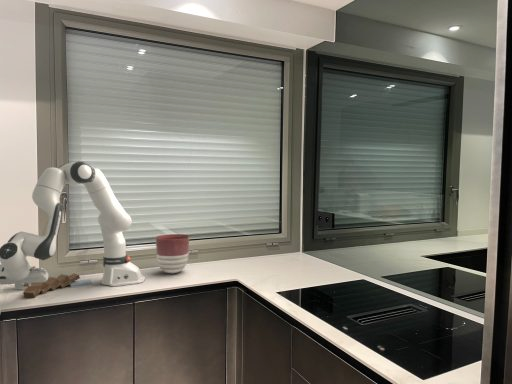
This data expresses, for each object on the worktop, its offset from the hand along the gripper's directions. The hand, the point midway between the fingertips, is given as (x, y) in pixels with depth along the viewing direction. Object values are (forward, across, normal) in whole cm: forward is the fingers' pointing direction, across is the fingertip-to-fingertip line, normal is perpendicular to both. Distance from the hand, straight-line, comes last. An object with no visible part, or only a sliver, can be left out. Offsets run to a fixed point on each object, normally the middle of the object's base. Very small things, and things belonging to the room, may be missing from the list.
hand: (27, 285), depth 175 cm
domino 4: (+14, -10, -7) cm, 19 cm away
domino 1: (+4, 0, +3) cm, 5 cm away
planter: (+27, -68, -17) cm, 75 cm away
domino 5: (+16, -15, -8) cm, 23 cm away
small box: (+18, +7, -9) cm, 21 cm away
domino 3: (+12, -6, -4) cm, 14 cm away
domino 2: (+9, -3, -1) cm, 9 cm away
